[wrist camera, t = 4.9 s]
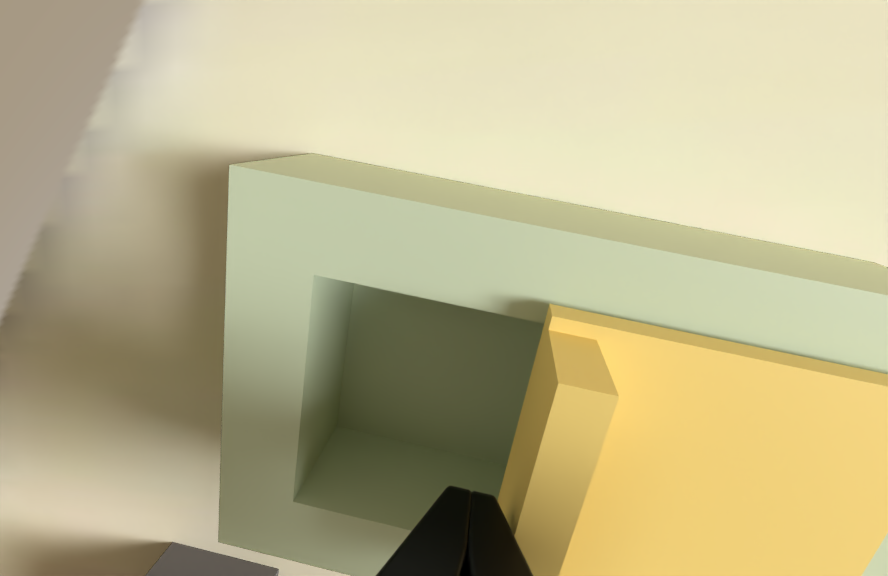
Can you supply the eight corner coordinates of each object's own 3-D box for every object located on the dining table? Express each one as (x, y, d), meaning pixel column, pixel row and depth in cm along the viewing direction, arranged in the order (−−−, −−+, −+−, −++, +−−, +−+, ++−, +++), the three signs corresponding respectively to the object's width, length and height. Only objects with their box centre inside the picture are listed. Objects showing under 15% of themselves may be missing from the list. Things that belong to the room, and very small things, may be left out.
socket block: (736, 547, 15) (814, 692, 11) (288, 441, 16) (218, 541, 12) (874, 262, 12) (1046, 326, 8) (312, 153, 13) (229, 164, 9)
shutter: (780, 652, 10) (856, 798, 8) (477, 576, 11) (468, 695, 9) (935, 384, 8) (1095, 481, 6) (549, 303, 9) (563, 366, 6)
